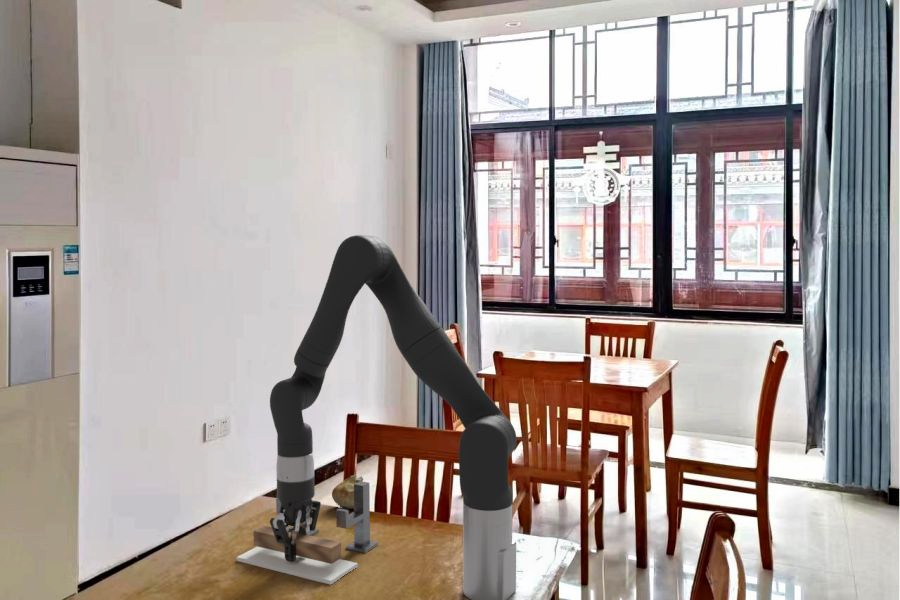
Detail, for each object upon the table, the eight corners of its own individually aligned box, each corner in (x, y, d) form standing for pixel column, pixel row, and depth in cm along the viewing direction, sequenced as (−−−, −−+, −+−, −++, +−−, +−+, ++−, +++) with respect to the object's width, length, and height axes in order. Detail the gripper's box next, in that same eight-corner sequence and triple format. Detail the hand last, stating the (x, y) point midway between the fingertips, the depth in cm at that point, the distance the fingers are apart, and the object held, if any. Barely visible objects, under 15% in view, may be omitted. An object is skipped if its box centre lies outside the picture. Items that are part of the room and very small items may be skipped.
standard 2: (378, 544, 162) (377, 481, 161) (351, 562, 153) (350, 495, 152) (359, 540, 164) (358, 478, 163) (331, 557, 155) (331, 491, 154)
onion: (333, 502, 189) (333, 471, 189) (365, 502, 190) (364, 471, 189) (330, 513, 182) (330, 481, 181) (363, 512, 182) (363, 480, 182)
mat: (357, 567, 151) (357, 563, 151) (331, 584, 143) (331, 580, 143) (266, 545, 162) (266, 541, 162) (236, 560, 154) (236, 557, 154)
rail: (341, 557, 149) (341, 542, 149) (331, 563, 146) (331, 548, 146) (264, 540, 158) (263, 525, 158) (253, 545, 155) (253, 530, 155)
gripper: (287, 487, 143) (289, 574, 144) (331, 468, 155) (332, 548, 157) (257, 481, 146) (259, 567, 148) (302, 463, 159) (304, 542, 160)
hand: (296, 557), depth 152 cm, fingers closed on rail, 3 cm apart
